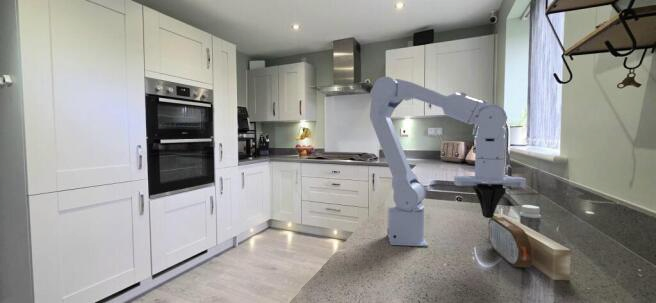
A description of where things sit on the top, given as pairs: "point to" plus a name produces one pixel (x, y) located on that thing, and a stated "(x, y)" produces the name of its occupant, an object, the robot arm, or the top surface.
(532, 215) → the pill bottle
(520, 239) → the tin
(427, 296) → the top surface
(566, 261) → the board
